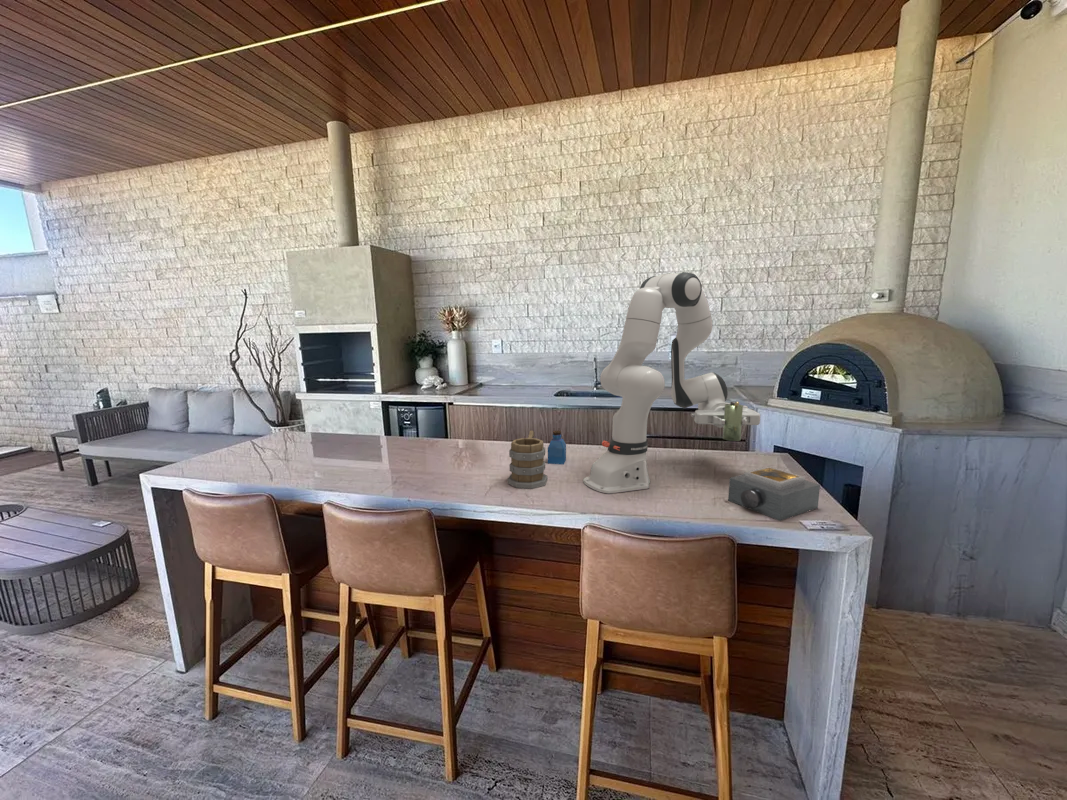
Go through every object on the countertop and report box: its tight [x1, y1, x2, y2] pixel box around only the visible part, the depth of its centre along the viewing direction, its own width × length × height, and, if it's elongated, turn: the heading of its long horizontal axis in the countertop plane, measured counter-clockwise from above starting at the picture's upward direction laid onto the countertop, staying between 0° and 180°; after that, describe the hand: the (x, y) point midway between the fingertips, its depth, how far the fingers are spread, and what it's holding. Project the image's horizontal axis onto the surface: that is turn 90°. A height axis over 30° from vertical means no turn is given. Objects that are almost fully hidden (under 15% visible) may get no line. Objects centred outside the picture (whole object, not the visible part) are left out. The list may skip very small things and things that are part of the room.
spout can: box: [722, 401, 743, 442], centre depth 139 cm, size 6×5×13 cm
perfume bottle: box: [547, 429, 567, 465], centre depth 168 cm, size 6×6×12 cm
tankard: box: [507, 430, 548, 490], centre depth 149 cm, size 20×13×15 cm, turn 170°
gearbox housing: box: [727, 466, 821, 522], centre depth 126 cm, size 19×16×9 cm
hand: (733, 422), depth 139 cm, fingers closed on spout can, 5 cm apart
